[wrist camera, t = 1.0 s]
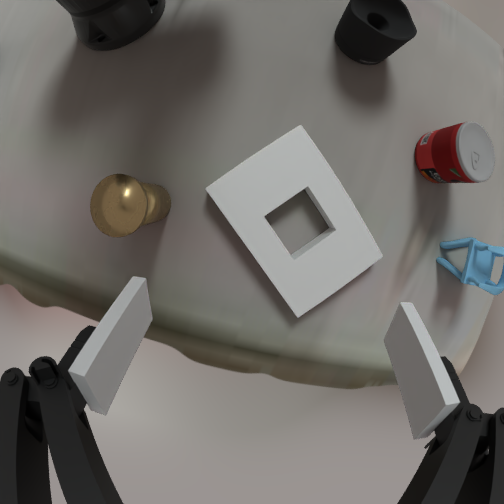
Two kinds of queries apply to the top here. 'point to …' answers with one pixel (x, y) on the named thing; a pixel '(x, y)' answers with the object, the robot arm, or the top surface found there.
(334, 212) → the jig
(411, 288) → the top surface
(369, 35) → the pen holder
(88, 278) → the top surface
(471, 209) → the top surface
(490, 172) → the canned food
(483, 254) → the chair
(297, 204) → the top surface
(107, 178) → the brass ball knob
